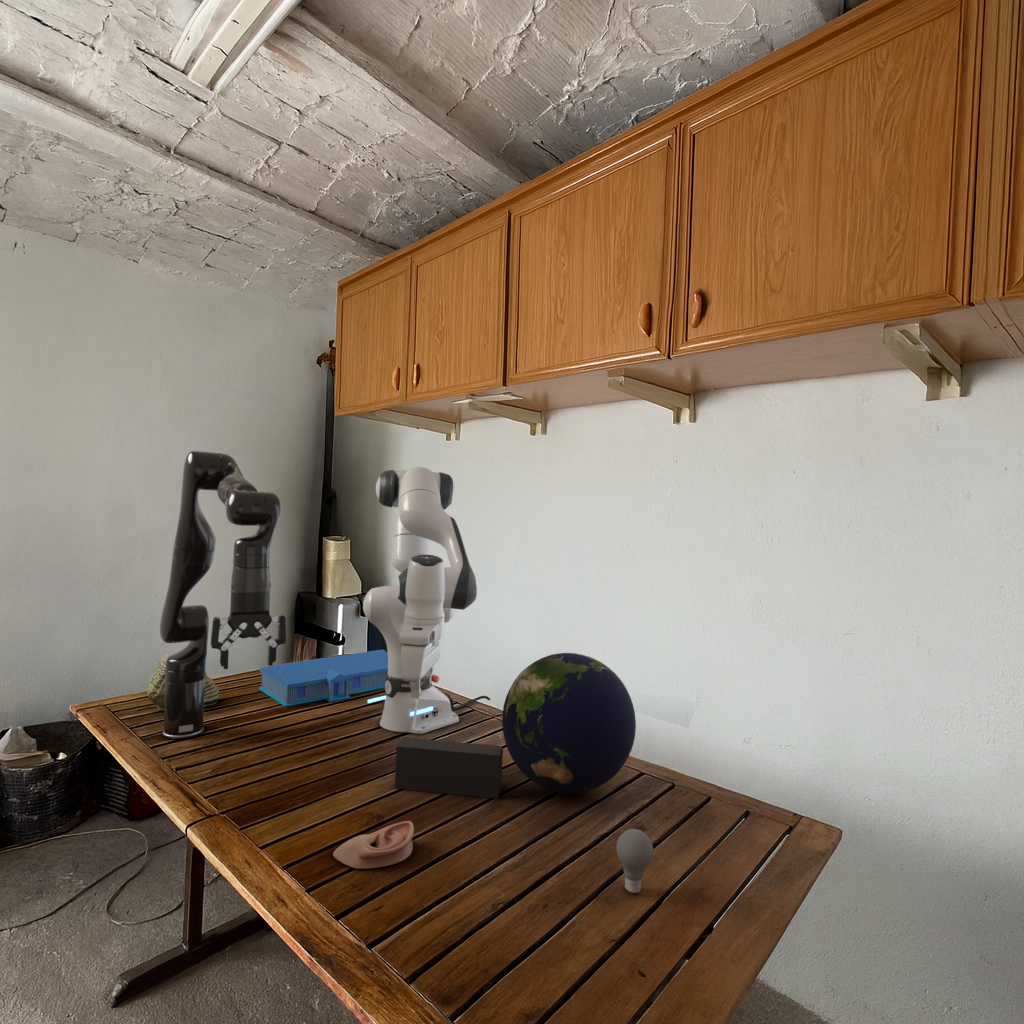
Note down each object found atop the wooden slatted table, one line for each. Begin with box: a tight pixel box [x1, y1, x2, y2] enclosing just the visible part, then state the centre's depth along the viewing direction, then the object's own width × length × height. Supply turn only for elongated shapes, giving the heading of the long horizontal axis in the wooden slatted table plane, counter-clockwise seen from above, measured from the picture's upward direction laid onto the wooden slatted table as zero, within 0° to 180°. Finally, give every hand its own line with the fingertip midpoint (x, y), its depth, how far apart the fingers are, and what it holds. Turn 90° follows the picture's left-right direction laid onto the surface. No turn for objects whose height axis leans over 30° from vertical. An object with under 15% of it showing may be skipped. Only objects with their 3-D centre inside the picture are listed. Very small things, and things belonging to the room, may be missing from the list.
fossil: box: [147, 654, 221, 712], centre depth 185 cm, size 9×18×15 cm, turn 132°
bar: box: [394, 736, 504, 800], centre depth 140 cm, size 23×5×9 cm, turn 83°
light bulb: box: [615, 828, 654, 894], centre depth 106 cm, size 6×6×10 cm
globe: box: [501, 652, 637, 794], centre depth 143 cm, size 30×30×30 cm
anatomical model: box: [332, 820, 415, 870], centre depth 114 cm, size 13×4×12 cm
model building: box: [258, 649, 388, 707], centre depth 208 cm, size 39×24×10 cm, turn 132°
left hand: (248, 666), depth 131 cm, fingers open, 8 cm apart
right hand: (421, 690), depth 141 cm, fingers open, 8 cm apart
